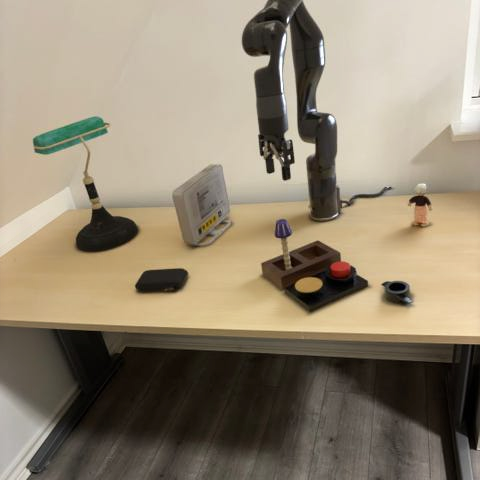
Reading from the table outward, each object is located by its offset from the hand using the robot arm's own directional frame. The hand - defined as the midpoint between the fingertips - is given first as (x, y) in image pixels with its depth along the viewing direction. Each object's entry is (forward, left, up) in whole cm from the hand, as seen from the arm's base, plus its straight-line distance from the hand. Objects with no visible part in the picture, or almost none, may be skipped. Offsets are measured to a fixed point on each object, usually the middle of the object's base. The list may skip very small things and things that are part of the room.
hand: (278, 176), depth 134 cm
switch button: (-3, +22, -22) cm, 31 cm away
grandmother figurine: (-41, +10, -25) cm, 49 cm away
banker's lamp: (+40, -62, -25) cm, 78 cm away
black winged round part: (-9, +36, -25) cm, 45 cm away
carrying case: (+36, -13, -25) cm, 46 cm away
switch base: (+2, +22, -25) cm, 33 cm away
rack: (+1, +9, -25) cm, 27 cm away
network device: (+10, -35, -25) cm, 44 cm away
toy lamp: (+5, +9, -25) cm, 27 cm away
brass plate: (+7, +22, -22) cm, 31 cm away
